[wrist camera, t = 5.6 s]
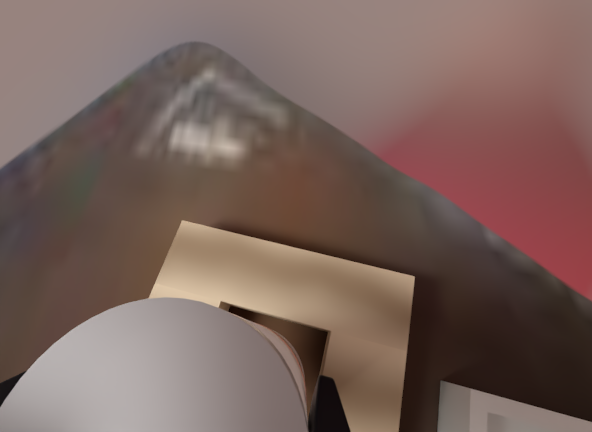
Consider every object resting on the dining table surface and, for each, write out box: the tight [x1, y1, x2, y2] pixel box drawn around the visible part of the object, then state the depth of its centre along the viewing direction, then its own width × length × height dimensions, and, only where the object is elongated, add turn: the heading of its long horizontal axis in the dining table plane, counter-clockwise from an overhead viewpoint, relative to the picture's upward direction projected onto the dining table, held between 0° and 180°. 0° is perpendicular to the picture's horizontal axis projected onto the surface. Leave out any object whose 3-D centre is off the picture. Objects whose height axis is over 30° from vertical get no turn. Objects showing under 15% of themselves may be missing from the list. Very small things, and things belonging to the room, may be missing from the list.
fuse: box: [0, 297, 308, 432], centre depth 9 cm, size 5×5×10 cm
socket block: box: [149, 220, 415, 432], centre depth 17 cm, size 15×15×2 cm
